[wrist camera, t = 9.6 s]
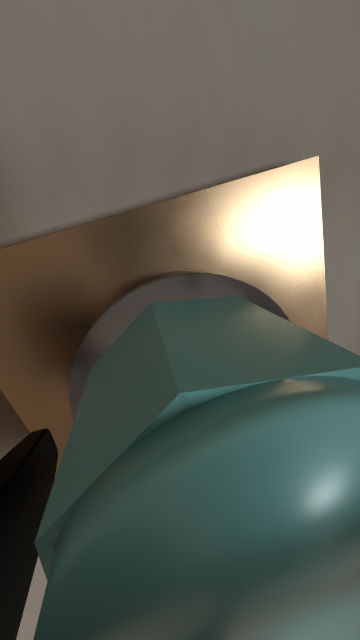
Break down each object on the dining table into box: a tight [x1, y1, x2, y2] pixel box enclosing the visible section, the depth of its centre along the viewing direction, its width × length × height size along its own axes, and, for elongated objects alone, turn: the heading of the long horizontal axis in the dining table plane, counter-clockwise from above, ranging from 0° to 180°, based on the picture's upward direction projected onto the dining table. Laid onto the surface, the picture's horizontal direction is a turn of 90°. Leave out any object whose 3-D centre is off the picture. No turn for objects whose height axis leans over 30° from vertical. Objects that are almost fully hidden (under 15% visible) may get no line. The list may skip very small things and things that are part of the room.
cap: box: [34, 296, 360, 640], centre depth 6 cm, size 6×6×5 cm
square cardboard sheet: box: [0, 156, 328, 471], centre depth 7 cm, size 12×12×5 cm
